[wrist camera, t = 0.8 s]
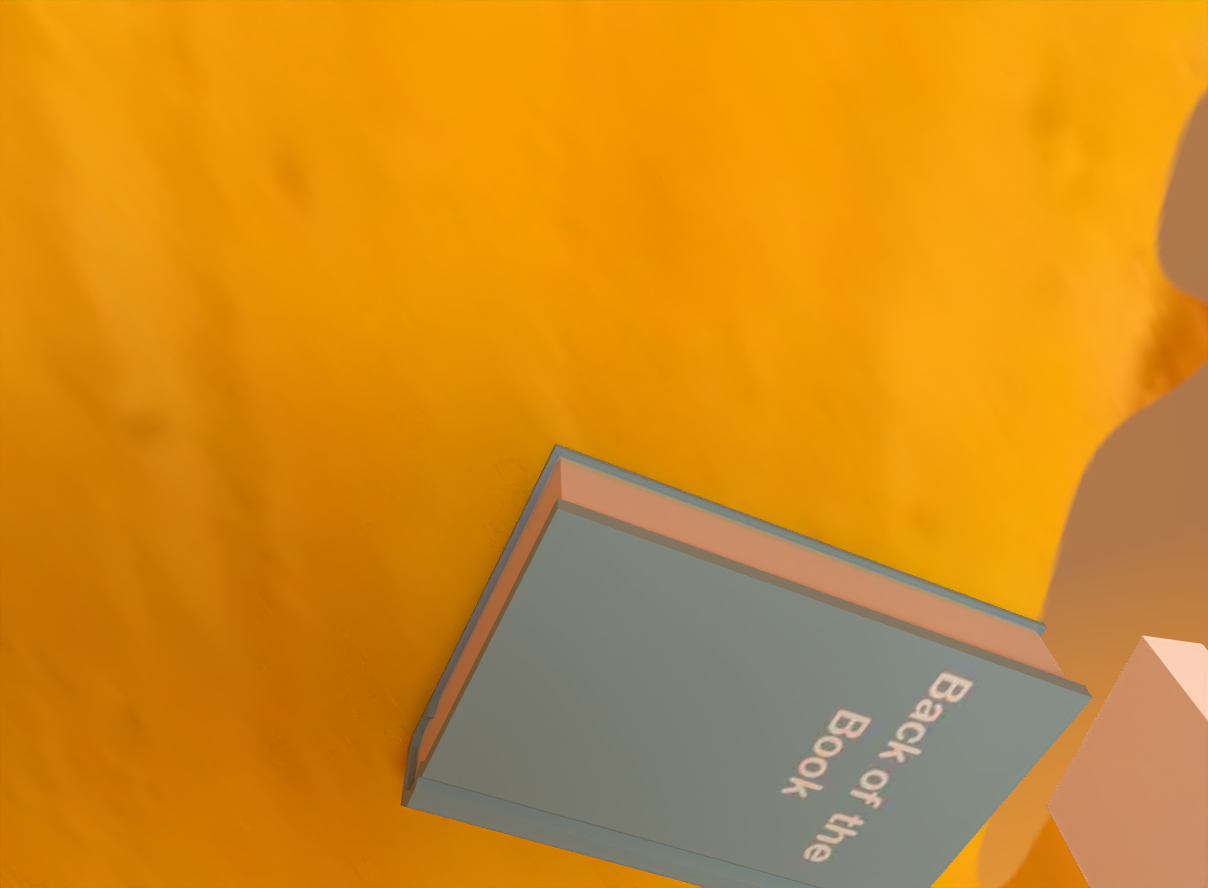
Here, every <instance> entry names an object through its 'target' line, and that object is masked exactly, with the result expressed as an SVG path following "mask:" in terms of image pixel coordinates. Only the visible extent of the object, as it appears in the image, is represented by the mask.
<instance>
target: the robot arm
mask: <svg viewBox="0 0 1208 888" xmlns="http://www.w3.org/2000/svg"><path fill="white" fill-rule="evenodd" d="M1046 807H1047V808H1048V810H1049V812H1050V814H1051V816H1052V818H1053V820H1054V822H1055V824H1056V825H1057V827H1058V829H1059V831H1060V833H1061V835H1062V837H1063V839H1064V840H1065V842H1066V844H1067V846H1068V848H1069V850H1070V852H1071V854H1072V855H1073V857H1074V859H1075V861H1076V863H1077V865H1078V867H1079V869H1080V870H1081V872H1082V874H1083V876H1084V878H1085V880H1086V882H1087V884H1088V885H1089V887H1090V888H1208V651H1207V649H1206V648H1205V647H1204V646H1203V644H1198V643H1191V642H1184V641H1177V640H1170V639H1162V638H1155V637H1149V636H1142V637H1141V639H1140V640H1139V642H1138V644H1137V646H1136V647H1135V649H1134V651H1133V653H1132V654H1131V656H1130V658H1129V660H1128V662H1127V664H1126V665H1125V667H1124V669H1123V670H1122V672H1121V674H1120V676H1119V678H1118V679H1117V681H1116V683H1115V685H1114V687H1113V688H1112V690H1111V692H1110V694H1109V695H1108V697H1107V699H1106V701H1105V702H1104V704H1103V706H1102V708H1101V709H1100V711H1099V713H1098V715H1097V716H1096V718H1095V720H1094V722H1093V724H1092V725H1091V727H1090V729H1089V731H1088V732H1087V734H1086V736H1085V738H1084V739H1083V741H1082V743H1081V745H1080V747H1079V748H1078V750H1077V752H1076V754H1075V755H1074V757H1073V759H1072V761H1071V763H1070V764H1069V766H1068V768H1067V770H1066V771H1065V773H1064V775H1063V777H1062V779H1061V780H1060V782H1059V784H1058V786H1057V787H1056V789H1055V791H1054V793H1053V795H1052V796H1051V798H1050V800H1049V801H1048V804H1047V805H1046Z"/></svg>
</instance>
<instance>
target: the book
mask: <svg viewBox="0 0 1208 888" xmlns="http://www.w3.org/2000/svg"><path fill="white" fill-rule="evenodd" d="M1046 628H1047V627H1046V626H1045V624H1044V623H1043V621H1042V620H1041V619H1040V622H1038V621H1035V620H1032V619H1029V618H1027V617H1024V616H1021V615H1019V614H1016V613H1013V612H1010V611H1008V610H1005V609H1002V608H1000V607H997V606H994V605H991V604H989V603H986V602H983V601H981V600H978V599H975V598H972V597H970V596H967V595H964V594H962V593H959V592H956V591H954V590H951V589H948V588H945V587H943V586H940V585H937V584H935V583H932V582H929V581H926V580H924V579H921V578H918V577H916V576H913V575H910V574H907V573H905V572H902V571H899V570H897V569H894V568H891V567H888V566H886V565H883V564H880V563H878V562H875V561H872V560H870V559H867V558H864V557H861V556H859V555H856V554H853V553H851V552H848V551H845V550H842V549H840V548H837V547H834V546H832V545H829V544H826V543H823V542H821V541H818V540H815V539H813V538H810V537H807V536H804V535H802V534H799V533H796V532H794V531H791V530H788V529H786V528H783V527H780V526H777V525H775V524H772V523H769V522H767V521H764V520H761V519H758V518H756V517H753V516H750V515H748V514H745V513H742V512H739V511H737V510H734V509H731V508H729V507H726V506H723V505H720V504H718V503H715V502H712V501H710V500H707V499H704V498H702V497H699V496H696V495H693V494H691V493H688V492H685V491H683V490H680V489H677V488H674V487H672V486H669V485H666V484H664V483H661V482H658V481H655V480H653V479H650V478H647V477H645V476H642V475H639V474H636V473H634V472H631V471H628V470H626V469H623V468H620V467H618V466H615V465H612V464H609V463H607V462H604V461H601V460H599V459H596V458H593V457H590V456H588V455H585V454H582V453H580V452H577V451H574V450H571V449H569V448H566V447H563V446H561V445H558V444H555V446H554V448H553V450H552V452H551V455H550V457H549V459H548V461H547V463H546V465H545V467H544V469H543V471H542V473H541V475H540V477H539V479H538V481H537V483H536V485H535V487H534V489H533V491H532V493H531V495H530V497H529V499H528V501H527V503H526V505H525V507H524V509H523V511H522V514H521V516H520V518H519V520H518V522H517V524H516V526H515V528H514V530H513V532H512V534H511V536H510V538H509V540H508V542H507V544H506V546H505V548H504V550H503V552H502V554H501V556H500V558H499V560H498V562H497V564H496V566H495V568H494V570H493V573H492V575H491V577H490V579H489V581H488V583H487V585H486V587H485V589H484V591H483V593H482V595H481V597H480V599H479V601H478V603H477V605H476V607H475V609H474V611H473V613H472V615H471V617H470V619H469V621H468V623H467V625H466V627H465V629H464V632H463V634H462V636H461V638H460V640H459V642H458V644H457V646H456V648H455V650H454V652H453V654H452V656H451V658H450V660H449V662H448V664H447V666H446V668H445V670H444V672H443V674H442V676H441V678H440V680H439V682H438V684H437V686H436V689H435V691H434V693H433V695H432V697H431V699H430V701H429V703H428V705H427V707H426V709H425V711H424V713H423V715H422V717H421V719H420V721H419V723H418V725H417V727H416V729H415V731H414V733H413V736H412V739H411V743H410V746H409V751H408V758H407V765H406V772H405V779H404V786H403V793H402V800H401V805H402V806H405V807H409V808H413V809H416V810H420V811H424V812H428V813H431V814H435V815H439V816H442V817H446V818H450V819H454V820H457V821H461V822H465V823H468V824H472V825H476V826H479V827H483V828H487V829H491V830H494V831H498V832H502V833H505V834H509V835H513V836H517V837H520V838H524V839H528V840H531V841H535V842H539V843H543V844H546V845H550V846H554V847H557V848H561V849H565V850H568V851H572V852H576V853H580V854H583V855H587V856H591V857H594V858H598V859H602V860H606V861H609V862H613V863H617V864H620V865H624V866H628V867H632V868H635V869H639V870H643V871H646V872H650V873H654V874H657V875H661V876H665V877H669V878H672V879H676V880H680V881H683V882H687V883H691V884H695V885H698V886H702V887H706V888H930V887H931V886H932V884H933V883H934V882H935V881H936V880H937V879H938V877H939V876H940V875H941V874H942V873H943V872H944V870H945V869H946V868H947V867H948V866H949V865H950V864H951V862H952V861H953V860H954V859H955V858H956V857H957V855H958V854H959V853H960V852H961V851H962V850H963V848H964V847H965V846H966V845H967V844H968V843H969V841H970V840H971V839H972V838H973V837H974V836H975V834H976V833H977V832H978V831H979V830H980V829H981V827H982V826H983V825H984V824H985V823H986V822H987V820H988V819H989V818H990V817H991V816H992V815H993V813H994V812H995V811H996V810H997V809H998V808H999V806H1000V805H1001V804H1002V803H1003V802H1004V801H1005V799H1006V798H1007V797H1008V796H1009V795H1010V793H1011V792H1012V791H1013V790H1014V789H1015V788H1016V787H1017V785H1018V784H1019V783H1020V782H1021V781H1022V780H1023V778H1024V777H1025V776H1026V775H1027V774H1028V773H1029V771H1030V770H1031V769H1032V768H1033V767H1034V765H1035V764H1036V763H1037V762H1038V761H1039V760H1040V758H1041V757H1042V756H1043V755H1044V754H1045V753H1046V751H1047V750H1048V749H1049V748H1050V747H1051V746H1052V745H1053V744H1054V742H1055V741H1056V740H1057V739H1058V738H1059V737H1060V735H1061V734H1062V733H1063V732H1064V730H1066V728H1067V727H1068V726H1069V725H1070V724H1071V723H1072V721H1073V720H1074V719H1075V718H1076V717H1077V715H1078V714H1079V713H1080V712H1081V711H1082V710H1083V709H1084V707H1085V706H1086V705H1087V704H1088V703H1089V702H1090V700H1091V699H1092V697H1091V695H1090V693H1089V692H1088V690H1087V689H1086V687H1085V686H1084V685H1081V684H1079V683H1076V682H1073V681H1070V680H1067V678H1066V677H1065V675H1064V674H1063V672H1062V671H1061V669H1060V667H1059V666H1058V664H1057V663H1056V661H1055V660H1054V658H1053V656H1052V655H1051V653H1050V652H1049V650H1048V649H1047V647H1046V646H1045V644H1044V642H1043V641H1042V639H1041V638H1040V636H1041V635H1042V633H1043V632H1044V631H1045V630H1046Z"/></svg>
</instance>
